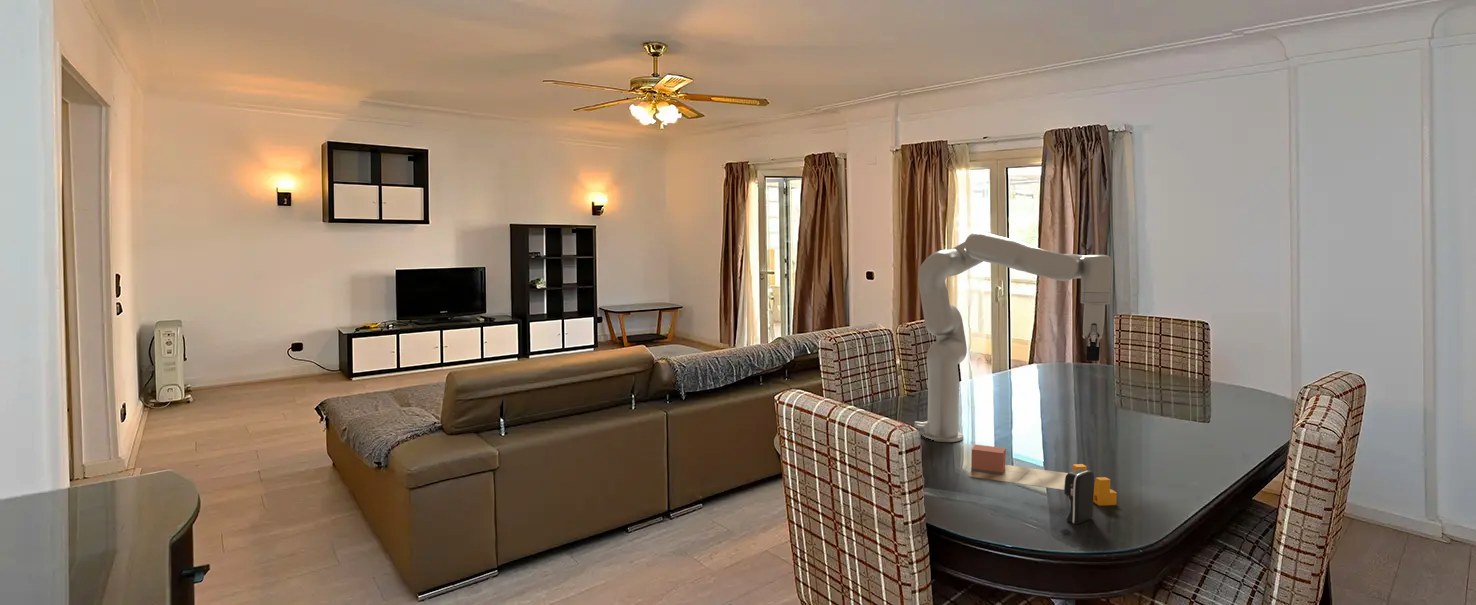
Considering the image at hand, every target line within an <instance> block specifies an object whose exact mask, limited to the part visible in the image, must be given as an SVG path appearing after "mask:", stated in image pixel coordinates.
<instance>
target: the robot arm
mask: <svg viewBox="0 0 1476 605" xmlns="http://www.w3.org/2000/svg"><path fill="white" fill-rule="evenodd" d="M983 262H985V263H989V264H993V265H999V266H1001V267H1004V268H1009V269H1013V270H1017V271H1021V272H1025V273H1028V274H1031V275H1035V276H1039V277H1041V278H1047V279H1050V280H1055V281H1060V282H1067V281H1071V280H1075V279H1081V280H1080V281H1081V285H1080V286H1081V288H1080V304H1084V305H1083V306H1084V307H1083V321H1082V323H1083V324H1082V338H1083V339H1086V338H1087V345H1086V361H1091V362H1092V361H1093V362H1099V361H1100V352H1101V350H1100V348H1101V347H1100V346H1101V341H1100V340H1101V339H1102V337H1103V333H1104V326H1105V316H1106V315H1105V313H1106V305H1110V304H1111V291H1112V290H1111V287H1112V284H1111V283H1112V264H1113V263H1112V257H1110V256H1109V255H1107V254H1106V255H1105V254H1087V255H1084V254H1083V255H1082V254H1074V253H1059V252H1055V251H1051V250H1046V249H1044V248H1043V249H1042V248H1039V247H1035V246H1033V245H1030V244H1029V243H1027V242H1025V241H1023V240H1018V239H1014V238H1010V237H1009V238H1008V237H1005V236H1000V235H997V234H993V233H991V232H989V231H976V232H974V231H973V232H972V233H970V234H969V235H968V236H967V237H966V238H965V240H964V241H963V242H962V243H960V244H958V245H956V246H953V247H952V248H950V249H942V250H938V251H936V252H934V253H931V254H930V255H929V256H927V257H926V259H924V260H923V262H922V264H921V265H920V267H919V270H918V276H917V282H918V289H919V294H920V302H921V307H922V316H923V320H924V327H925V329H926V331H927V332H928V333H930V335H933V336H935V340H936V341H934V342H933V343H932V344H931V345H930V347H929V348H928V350H927V353H926V368H927V388H928V389H927V421H923V422H922V421H914V428H916V429H917V428H918V430H923V431H922V434H923V435H922V437H923V436H924V437H926V438H929V439H931V440H930V441H932V440H934V441H933V442H939V443H955V442H960V441H962V440H963V439H964V434H963V433H962V432H960V431H959V412H960V411H959V406H960V405H959V404H960V400H959V399H960V395H959V394H960V375H959V367H958V365H960V363H962V362H963V361H964V360H965V358H966V357H967V356H966V355H967V352H968V347H967V341H966V335H965V329H964V328H965V327H964V323H963V318H962V314H961V312H960V311H959V309H958V308H957V307H956V306H954V305H953V304H950V298H949V291H948V288H947V284H946V280H947V279H946V278H948V277H952V276H957V275H960V274H962V273H965V272H966V271H969V270H970V269H971V268H974V267H975V266H978V265H979V264H982V263H983ZM924 437H923V438H924ZM926 438H925V439H926Z"/></svg>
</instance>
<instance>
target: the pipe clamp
mask: <svg viewBox="0 0 1476 605" xmlns="http://www.w3.org/2000/svg"><path fill="white" fill-rule="evenodd" d="M1087 468H1088V466H1087V465H1085V464H1083V463H1079V464H1077V463H1075V464H1072V471H1075V470H1078V469H1083V470H1086V471H1088V469H1087ZM1117 495H1118V492H1116V491H1115V490H1114V489H1111V479H1110V478H1108V477H1106V476H1105V477H1104V476H1100V477H1099V476H1098V477H1094V497H1093V504H1096V505H1097V506H1099V507H1100V506H1116V505H1117V498H1118V496H1117Z"/></svg>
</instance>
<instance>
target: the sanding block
mask: <svg viewBox="0 0 1476 605" xmlns="http://www.w3.org/2000/svg"><path fill="white" fill-rule="evenodd" d="M1006 450H1007V448H1006V447H998V446H989V445H982V444H974V445H973V447H972V448H971V462H970V463H971V467H970V469H971V471H975V472H982V473H989V474H996V475H1003V473H1004V471H1005V465H1006V458H1007V457H1006V455H1007V451H1006ZM971 471H970V472H971Z"/></svg>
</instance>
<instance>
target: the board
mask: <svg viewBox="0 0 1476 605" xmlns="http://www.w3.org/2000/svg"><path fill="white" fill-rule="evenodd" d="M1068 473H1069V472H1062V471H1054V470H1047V469H1039V468H1032V467H1031V468H1030V467H1023V466H1018V465H1009V464H1005V471H1004V473H1003V475H996V474H989V473H982V472H975V471H970V473H969V474H968V475H967V476H968V477H970V478H976V479H977V478H979V479H983V480H984V479H986V480H992V481H999V482H1006V483H1014V484H1020V485H1027V486H1028V485H1029V486H1034V487H1041V488H1042V487H1043V488H1048V489H1055V490H1062V491H1064V486H1065V477H1066V475H1067V474H1068ZM1065 496H1066V497H1068V495H1066V494H1065Z"/></svg>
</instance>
